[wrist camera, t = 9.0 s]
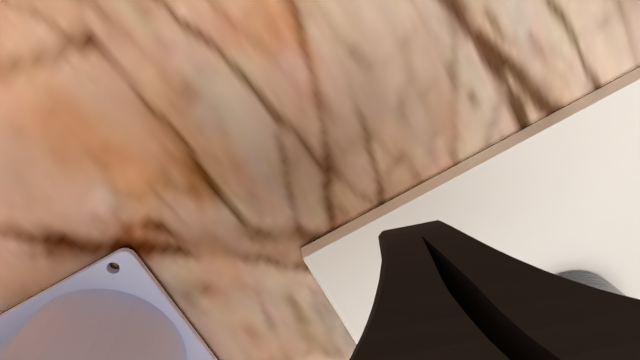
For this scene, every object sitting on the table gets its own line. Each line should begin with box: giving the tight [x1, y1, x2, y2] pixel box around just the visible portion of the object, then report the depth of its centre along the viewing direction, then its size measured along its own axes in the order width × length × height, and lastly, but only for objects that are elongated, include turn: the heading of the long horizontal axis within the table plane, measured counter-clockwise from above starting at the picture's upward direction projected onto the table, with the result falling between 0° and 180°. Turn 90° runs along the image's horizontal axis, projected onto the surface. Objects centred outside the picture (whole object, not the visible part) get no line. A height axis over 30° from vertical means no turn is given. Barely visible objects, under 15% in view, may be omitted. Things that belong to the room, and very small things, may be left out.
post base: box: [301, 67, 640, 344], centre depth 24 cm, size 18×18×1 cm
